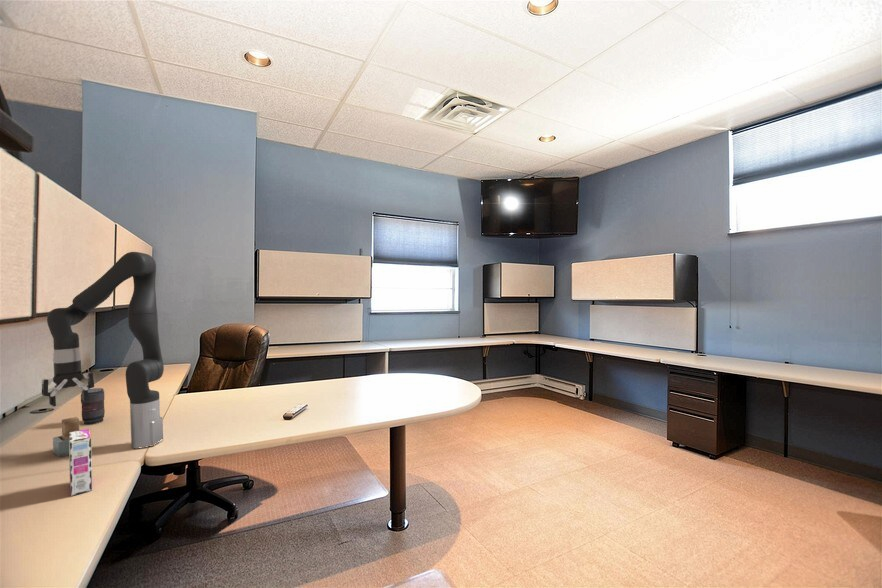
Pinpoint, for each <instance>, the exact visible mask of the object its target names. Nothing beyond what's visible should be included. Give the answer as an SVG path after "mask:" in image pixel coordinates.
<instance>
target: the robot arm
mask: <svg viewBox="0 0 882 588" xmlns="http://www.w3.org/2000/svg"><path fill="white" fill-rule="evenodd" d="M156 272H157V264H156V261H155V259H154V257H153V256H151V255H150V254H147V253H144V252H139V251H130V252H126V253H125V254H123V255H122V256H121V257H120V258H119V259H118V260H117V261H116V262H114V264H113V265H112V266H111V268H109V269H108V270H107V271H106V272H105V273H103V275H101V276H100V278H98V279H97V280H96V281H94V282H93V284H91V285H88V287H87V288H85V289H84V290H82V291H81V292H80V293H78V294H77V295H75V297H74V298H73V299H72V300H71V301H72V304H70V305H69V306H68V307H57V308H54V309H52V310H50V311H49V313H48V314H47V317H46V323H47V326H48V329H49V331H50V335H51V337H52V339H53V356H52V357H53V358H52V361H53V377H52V378H43V379H42V380H41V395H42V396H44V397H48V402H49V403H48V404H49V406H52V407H56V406H57V400H56V399H57V398H56V395H57V393H58V392H60V390H61V389H68V388H74V387H77V386H78V387H79V388H80V389H82V390H81V393H82V400H83V401H85V400H86V399H87V398H88V390H89V389H94V388H95V382H94V374H93V373H92V372H90V371H88V372H85V373H82V356H81V354H82V353H81V348H80V336H79V334H78V333H77V332H73V329H72V326H75V325H78V324H79V323H81V322H82V321H83V320H85V318H87V317H88V316H89V315H90V314H91V312H92V310H94V309H95V308H98V307H99V305H102V304H103V303H104V302H105V301H106V300H108V299H109V298H110V296H111V295H112V294H113V292H114V291H115V290H116V289H117V287H119V286H120V285H121V284H122V283H124V282H125V281H126V280H128V279H130V278H132V279H133V292H132V296H131V299H130V301H129V303H128V308H127V319H128V321H127V322H128V323H127V324H128V328H129V330H130V332H131V333H132V335H133V336H134V338H136V341H138V343H139V344H140V346H141V349H142V350H141V351H142V358H143V359H141V360H136V361H135V360H134V361H132V362H130V363H129V364H128V365H127V367H126V369H125V383H126V385H125V386H126V393H127V394H126V395H127V397H128V399H129V407H130V408H129V409H130V410H129V411H130V412H129V413H130V442H131V443H130V445H131V446H130V447H131V448H132V447H133V448H132V449H134V448H139V447H146V446H150V445H154V444H155V443H157V442H158V441H160V440H161V439H163V440H164V421H163V420H164V419H163V418H164V417H162V416H161V409H160V408H161V407H160V406H161V405H160V404H161V403H160V402H161V401H160V392H159V391H158V390H151V389H150V384H149V383H151V382H155V381H158V380H160V379H161V378H162V377H163V375H164V370H165V369H164V366H165V365H164V361H163V355H162V351H161V346H160V345H161V343H160V337H159V336H160V334H159V319H158V310H157V307H158V306H157V296H156V274H157V273H156ZM83 378H85V379H86V380H87V385H86V384H85V383H83V382H82V381H81V380H83ZM52 382H53V383H54V384H55V385H54V386H53V387H52V389H51V390H50V391H49V385H51V384H52Z"/></svg>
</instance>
